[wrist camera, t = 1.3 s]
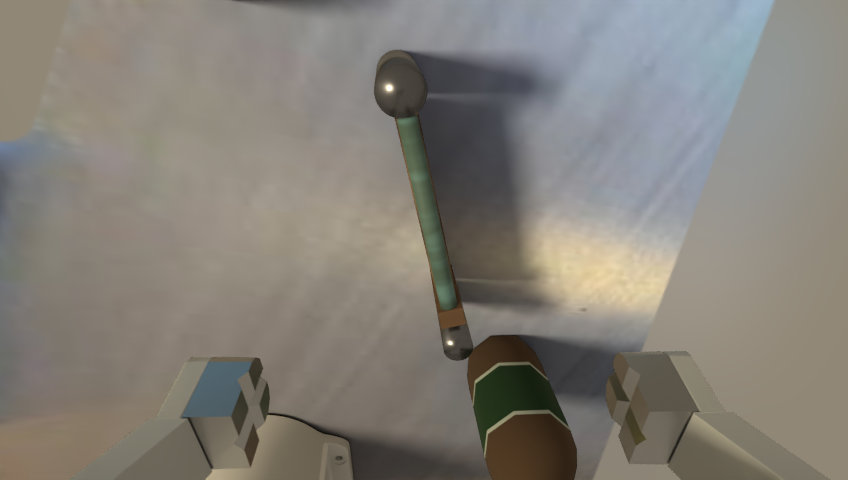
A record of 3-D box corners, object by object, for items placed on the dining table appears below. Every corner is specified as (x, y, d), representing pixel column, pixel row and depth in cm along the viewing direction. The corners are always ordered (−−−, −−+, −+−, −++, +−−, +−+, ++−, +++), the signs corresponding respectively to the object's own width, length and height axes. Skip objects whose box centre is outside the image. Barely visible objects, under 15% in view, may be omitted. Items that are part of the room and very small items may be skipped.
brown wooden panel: (391, 103, 38) (392, 123, 31) (415, 98, 38) (422, 116, 31) (433, 283, 45) (441, 329, 39) (454, 278, 45) (465, 324, 39)
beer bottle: (543, 375, 53) (653, 628, 31) (476, 397, 54) (539, 660, 32) (524, 321, 49) (633, 563, 28) (453, 346, 50) (506, 601, 29)
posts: (372, 55, 37) (368, 70, 28) (412, 45, 37) (421, 57, 28) (432, 303, 48) (443, 372, 39) (463, 296, 48) (482, 364, 39)
